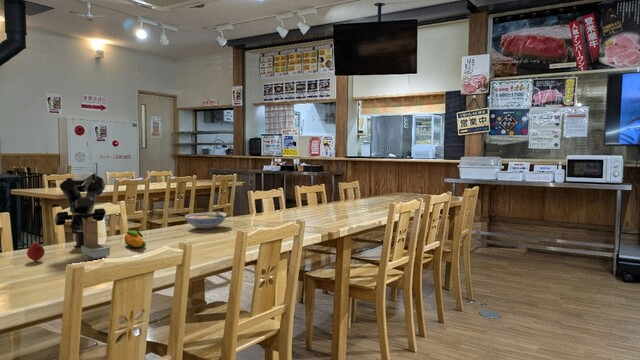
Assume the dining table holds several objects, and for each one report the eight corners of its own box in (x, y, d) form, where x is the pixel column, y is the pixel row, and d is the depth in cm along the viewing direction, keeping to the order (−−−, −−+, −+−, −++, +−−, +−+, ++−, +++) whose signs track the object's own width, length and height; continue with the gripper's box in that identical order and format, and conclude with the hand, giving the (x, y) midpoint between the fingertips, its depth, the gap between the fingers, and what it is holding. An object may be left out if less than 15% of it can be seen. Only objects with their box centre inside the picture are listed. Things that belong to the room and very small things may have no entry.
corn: (137, 226, 215) (149, 232, 199) (139, 242, 216) (151, 249, 200) (120, 229, 211) (131, 235, 195) (122, 245, 212) (133, 253, 196)
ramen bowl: (184, 226, 263) (184, 211, 263) (224, 223, 270) (224, 210, 269) (185, 233, 239) (184, 218, 239) (229, 230, 246) (229, 215, 246)
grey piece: (78, 257, 186) (78, 245, 186) (99, 254, 192) (99, 242, 192) (91, 263, 176) (90, 250, 176) (112, 259, 182) (112, 246, 182)
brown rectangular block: (83, 246, 187) (82, 217, 187) (93, 245, 190) (92, 216, 189) (88, 248, 184) (87, 218, 183) (98, 247, 187) (97, 217, 186)
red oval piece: (41, 259, 185) (40, 239, 184) (47, 261, 181) (46, 241, 180) (25, 261, 180) (24, 241, 180) (30, 264, 176) (29, 243, 176)
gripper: (55, 192, 185) (65, 222, 178) (103, 189, 199) (114, 217, 192) (50, 210, 192) (59, 239, 184) (97, 206, 205) (107, 233, 198)
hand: (86, 232), depth 189 cm, fingers closed
